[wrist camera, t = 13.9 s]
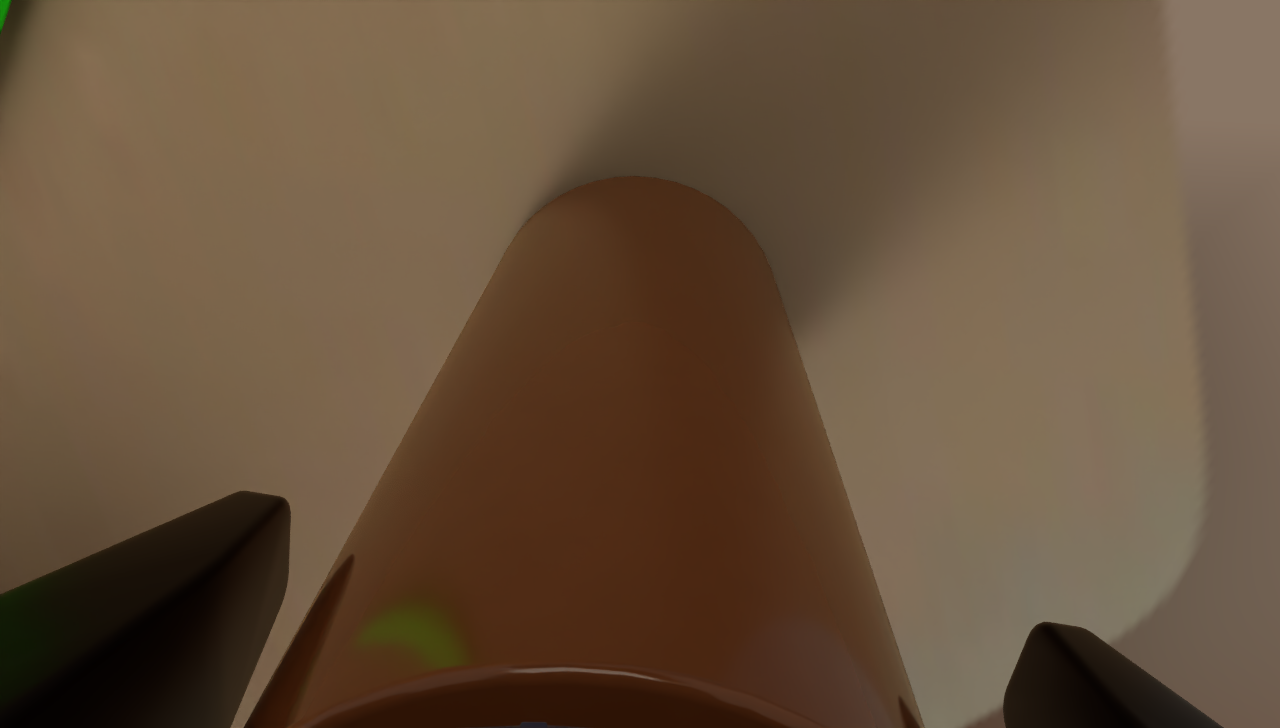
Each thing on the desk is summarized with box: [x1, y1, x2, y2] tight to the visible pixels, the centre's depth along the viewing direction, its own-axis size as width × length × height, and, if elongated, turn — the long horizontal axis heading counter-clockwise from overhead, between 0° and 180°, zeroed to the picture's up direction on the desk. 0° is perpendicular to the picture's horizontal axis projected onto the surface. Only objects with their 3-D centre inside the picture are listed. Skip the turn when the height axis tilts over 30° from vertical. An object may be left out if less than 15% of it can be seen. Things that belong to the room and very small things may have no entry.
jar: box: [244, 176, 925, 728], centre depth 10 cm, size 5×5×12 cm
